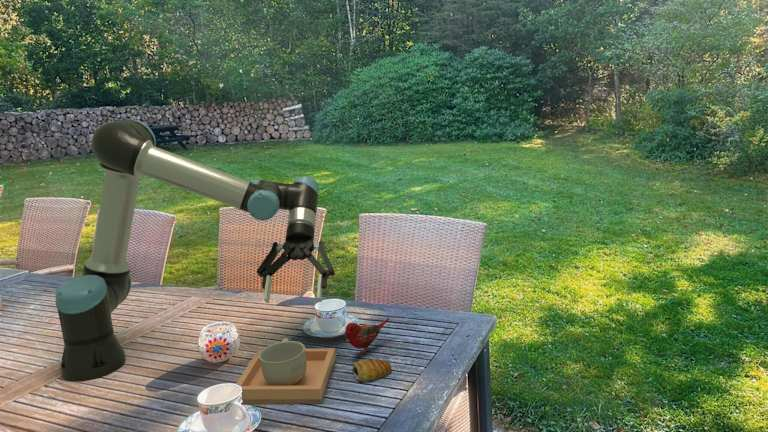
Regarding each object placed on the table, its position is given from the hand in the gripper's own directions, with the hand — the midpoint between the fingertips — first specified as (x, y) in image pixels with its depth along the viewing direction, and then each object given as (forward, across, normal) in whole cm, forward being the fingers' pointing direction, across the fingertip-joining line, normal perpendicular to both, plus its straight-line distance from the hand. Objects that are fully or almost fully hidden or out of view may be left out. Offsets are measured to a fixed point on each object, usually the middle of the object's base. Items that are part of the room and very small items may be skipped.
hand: (292, 300), depth 143 cm
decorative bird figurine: (+8, -18, -16) cm, 25 cm away
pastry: (+17, -20, -7) cm, 27 cm away
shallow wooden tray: (+19, 0, -4) cm, 20 cm away
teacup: (+19, 0, -4) cm, 19 cm away
